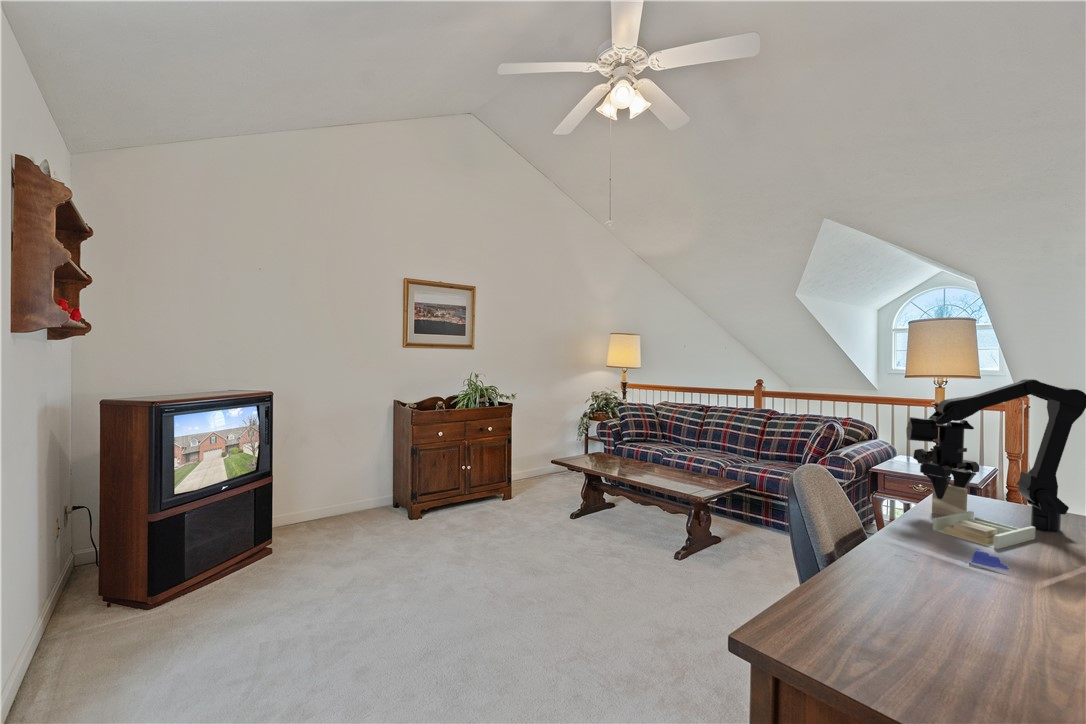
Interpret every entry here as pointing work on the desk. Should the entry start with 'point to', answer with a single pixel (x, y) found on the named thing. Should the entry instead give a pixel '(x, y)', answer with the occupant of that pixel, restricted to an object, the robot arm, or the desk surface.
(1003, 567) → the hard drive
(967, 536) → the offcut bottom
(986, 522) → the rack
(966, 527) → the offcut top
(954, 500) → the birch sheet
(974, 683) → the desk surface
